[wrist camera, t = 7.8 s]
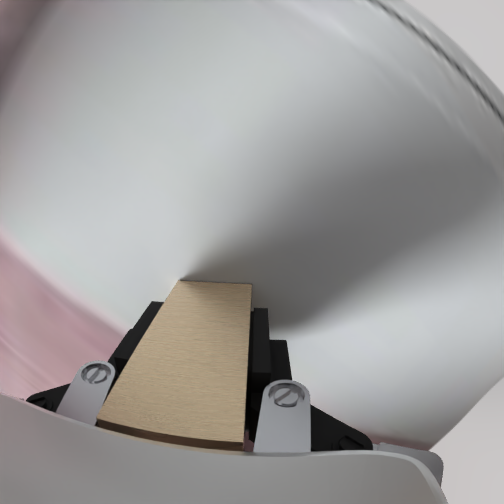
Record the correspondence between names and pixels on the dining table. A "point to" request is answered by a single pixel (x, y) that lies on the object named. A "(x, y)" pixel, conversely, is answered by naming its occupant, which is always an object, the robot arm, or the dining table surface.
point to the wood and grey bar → (188, 371)
